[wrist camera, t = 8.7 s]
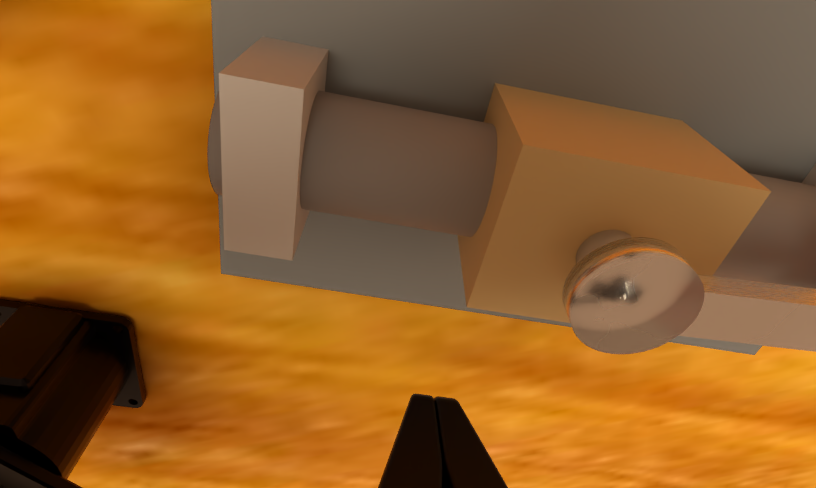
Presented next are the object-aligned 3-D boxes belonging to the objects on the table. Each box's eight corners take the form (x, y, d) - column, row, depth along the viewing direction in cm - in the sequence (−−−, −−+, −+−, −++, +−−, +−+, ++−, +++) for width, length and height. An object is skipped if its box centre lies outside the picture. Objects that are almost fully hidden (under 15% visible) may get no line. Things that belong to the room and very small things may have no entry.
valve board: (736, 331, 24) (853, 484, 17) (232, 252, 21) (156, 396, 15) (982, 24, 16) (1359, 102, 9) (225, -154, 13) (56, -210, 7)
